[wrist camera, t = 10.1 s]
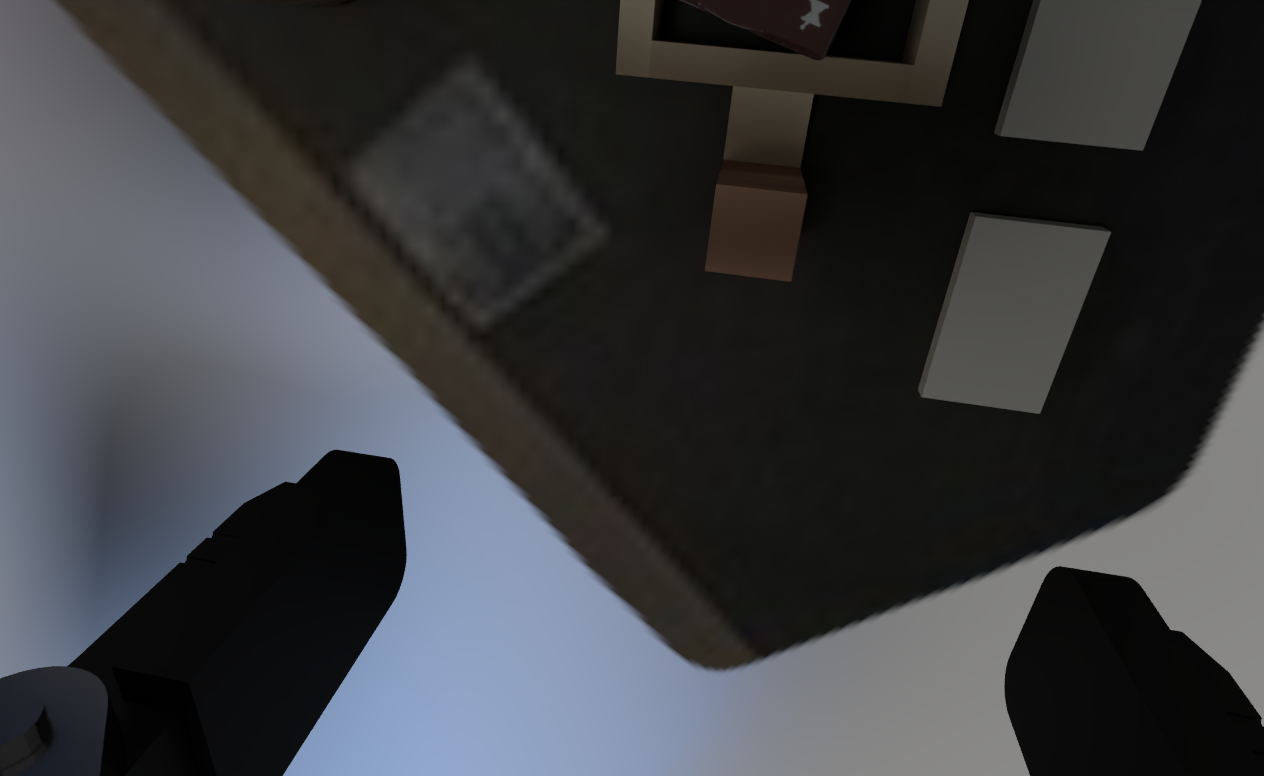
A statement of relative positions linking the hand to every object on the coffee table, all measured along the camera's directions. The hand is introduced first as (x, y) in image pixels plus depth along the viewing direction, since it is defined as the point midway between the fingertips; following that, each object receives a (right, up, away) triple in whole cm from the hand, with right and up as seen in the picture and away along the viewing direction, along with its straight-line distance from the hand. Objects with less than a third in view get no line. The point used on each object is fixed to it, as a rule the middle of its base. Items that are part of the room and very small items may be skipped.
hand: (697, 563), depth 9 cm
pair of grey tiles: (+15, +10, +19) cm, 26 cm away
